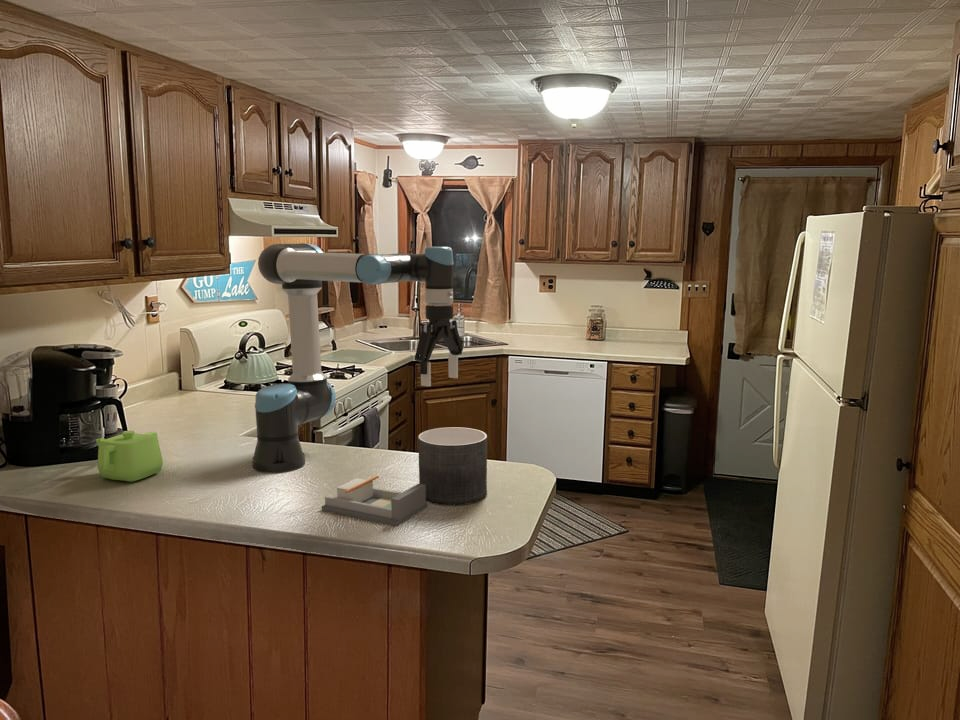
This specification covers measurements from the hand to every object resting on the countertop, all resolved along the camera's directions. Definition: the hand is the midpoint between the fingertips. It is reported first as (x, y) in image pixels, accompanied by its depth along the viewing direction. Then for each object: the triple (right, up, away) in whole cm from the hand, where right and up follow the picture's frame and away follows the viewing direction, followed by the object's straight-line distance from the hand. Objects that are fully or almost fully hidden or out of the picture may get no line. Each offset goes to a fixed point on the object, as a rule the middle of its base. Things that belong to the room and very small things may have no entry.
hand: (439, 381), depth 199 cm
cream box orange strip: (-21, -29, -16) cm, 39 cm away
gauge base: (-15, -31, -19) cm, 39 cm away
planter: (+4, -29, -9) cm, 31 cm away
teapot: (-89, -27, +7) cm, 94 cm away
